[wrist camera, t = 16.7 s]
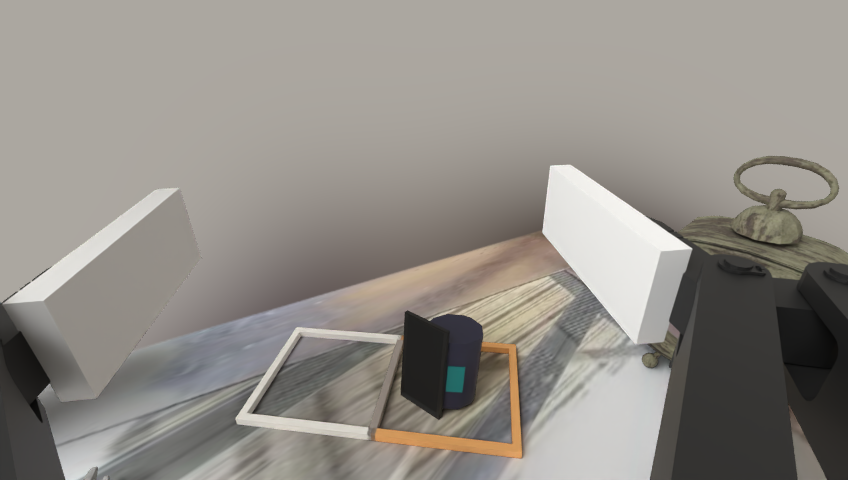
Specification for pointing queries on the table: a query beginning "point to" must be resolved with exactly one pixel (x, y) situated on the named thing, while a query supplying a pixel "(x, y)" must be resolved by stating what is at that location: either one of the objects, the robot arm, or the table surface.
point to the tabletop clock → (760, 237)
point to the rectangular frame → (383, 402)
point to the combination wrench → (94, 475)
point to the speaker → (440, 361)
